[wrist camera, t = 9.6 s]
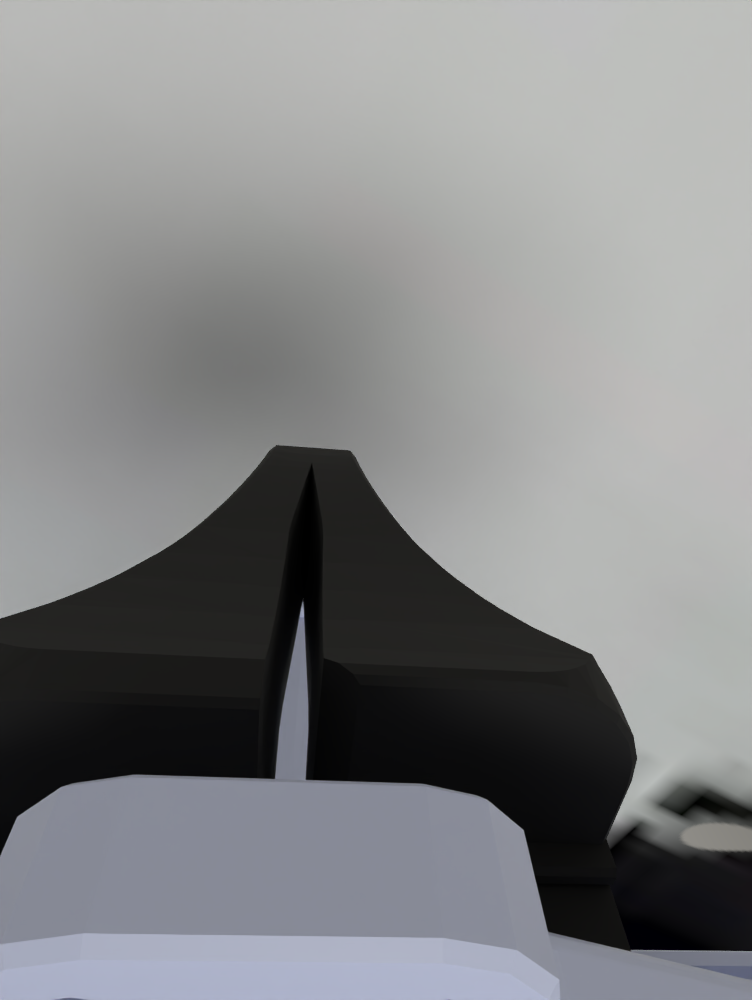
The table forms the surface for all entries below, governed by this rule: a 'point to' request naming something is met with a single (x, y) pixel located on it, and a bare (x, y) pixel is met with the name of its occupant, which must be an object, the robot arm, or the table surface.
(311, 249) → the table surface
